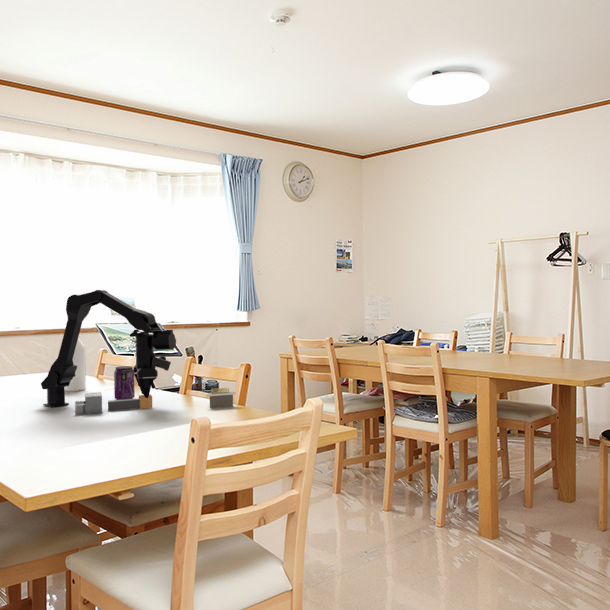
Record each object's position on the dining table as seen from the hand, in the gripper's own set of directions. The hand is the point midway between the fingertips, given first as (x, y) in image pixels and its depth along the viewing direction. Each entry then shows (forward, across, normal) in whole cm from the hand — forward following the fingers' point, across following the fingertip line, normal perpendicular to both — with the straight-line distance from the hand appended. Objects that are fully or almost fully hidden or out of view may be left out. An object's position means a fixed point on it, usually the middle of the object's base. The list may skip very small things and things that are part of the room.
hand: (145, 396), depth 196 cm
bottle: (+4, +59, +22) cm, 63 cm away
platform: (+4, -10, -24) cm, 26 cm away
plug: (+4, 0, +5) cm, 6 cm away
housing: (+4, 0, +18) cm, 18 cm away
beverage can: (+4, +22, +5) cm, 23 cm away
